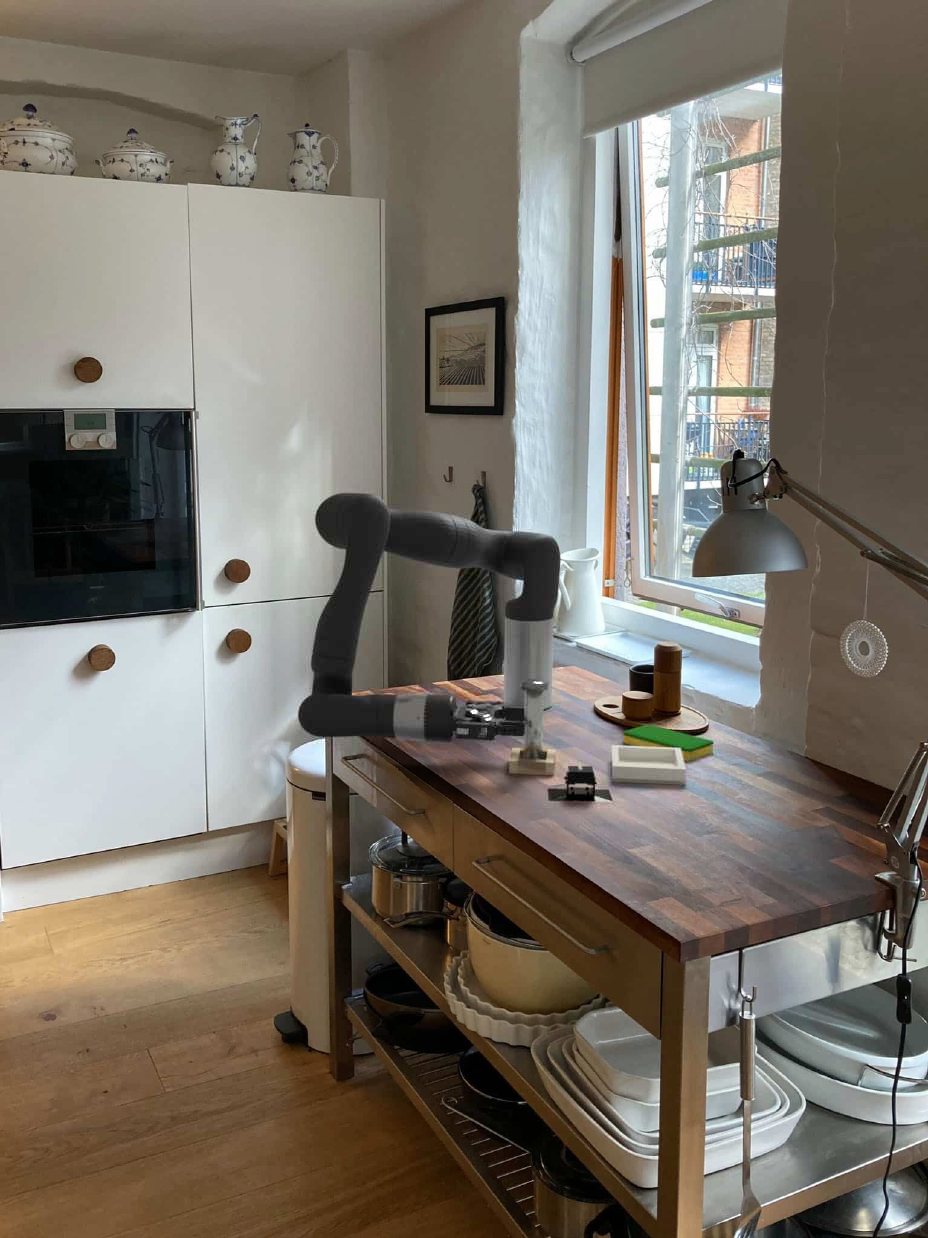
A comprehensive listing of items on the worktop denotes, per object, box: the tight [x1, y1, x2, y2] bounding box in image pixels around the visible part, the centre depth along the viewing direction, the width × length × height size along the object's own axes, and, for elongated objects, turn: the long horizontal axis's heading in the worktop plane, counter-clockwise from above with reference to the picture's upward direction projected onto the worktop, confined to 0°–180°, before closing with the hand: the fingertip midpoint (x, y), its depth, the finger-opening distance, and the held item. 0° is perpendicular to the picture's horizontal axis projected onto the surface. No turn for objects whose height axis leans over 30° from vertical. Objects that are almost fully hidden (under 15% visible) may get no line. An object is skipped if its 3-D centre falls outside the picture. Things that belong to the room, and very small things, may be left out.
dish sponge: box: [622, 724, 714, 761], centre depth 190 cm, size 7×14×2 cm, turn 43°
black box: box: [547, 765, 614, 803], centre depth 166 cm, size 12×7×5 cm, turn 88°
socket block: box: [508, 747, 557, 776], centre depth 179 cm, size 7×7×2 cm
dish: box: [610, 744, 687, 786], centre depth 177 cm, size 11×11×2 cm
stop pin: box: [520, 678, 549, 760], centre depth 178 cm, size 4×4×14 cm
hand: (526, 721), depth 178 cm, fingers open, 8 cm apart
